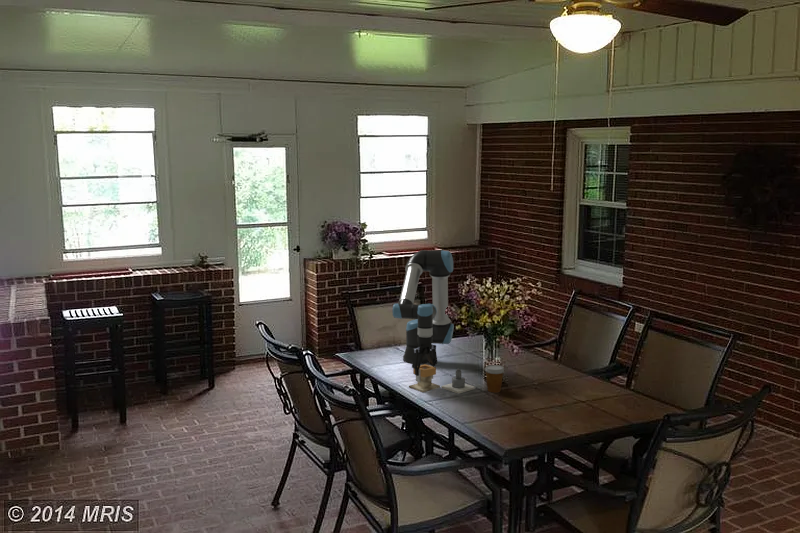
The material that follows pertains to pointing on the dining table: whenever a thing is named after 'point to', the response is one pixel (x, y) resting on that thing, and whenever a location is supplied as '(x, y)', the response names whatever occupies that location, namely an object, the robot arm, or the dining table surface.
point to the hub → (458, 384)
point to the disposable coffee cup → (494, 377)
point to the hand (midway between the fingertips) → (424, 379)
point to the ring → (426, 370)
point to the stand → (424, 384)
